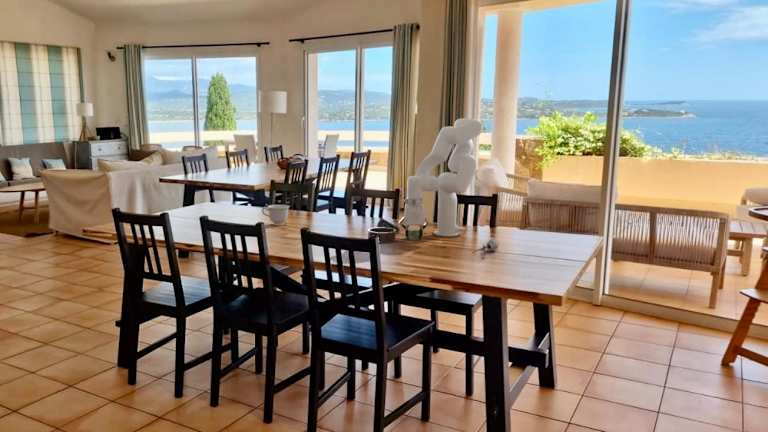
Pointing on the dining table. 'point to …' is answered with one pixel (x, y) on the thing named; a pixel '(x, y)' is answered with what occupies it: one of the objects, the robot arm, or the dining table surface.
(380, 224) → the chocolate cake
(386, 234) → the bowl
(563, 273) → the dining table surface
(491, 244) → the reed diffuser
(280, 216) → the teacup
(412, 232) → the green cube
